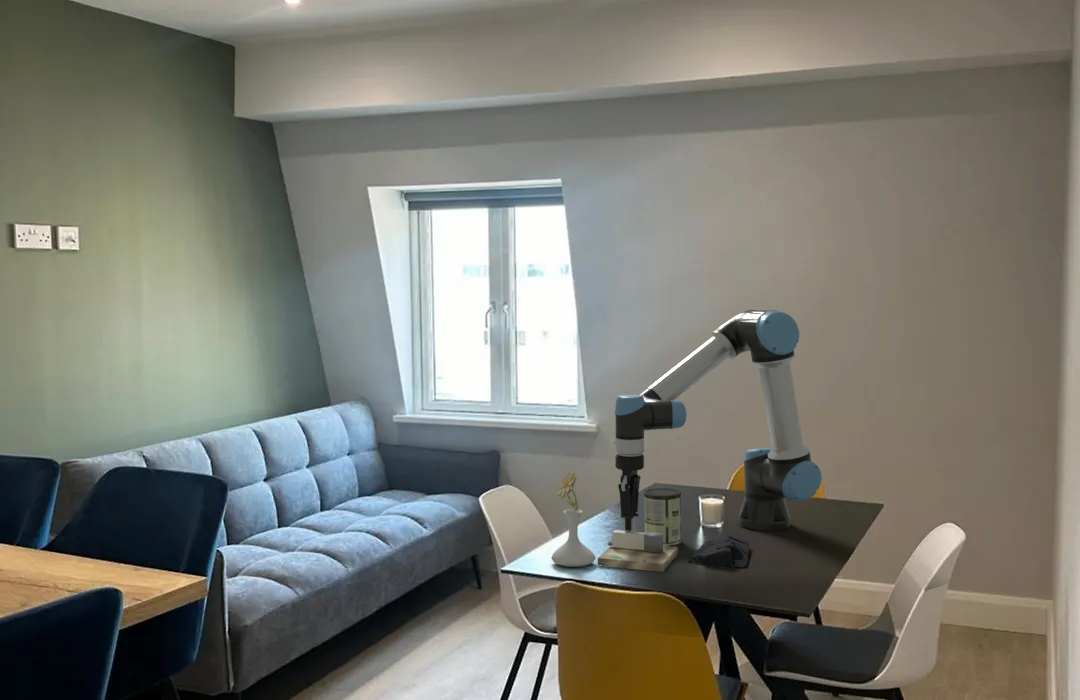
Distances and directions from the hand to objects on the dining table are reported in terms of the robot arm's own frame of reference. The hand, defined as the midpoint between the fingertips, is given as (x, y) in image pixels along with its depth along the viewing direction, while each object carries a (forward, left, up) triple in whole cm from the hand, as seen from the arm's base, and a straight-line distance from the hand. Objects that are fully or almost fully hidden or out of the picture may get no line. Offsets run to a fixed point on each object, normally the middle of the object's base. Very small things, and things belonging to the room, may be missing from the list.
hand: (629, 541), depth 265 cm
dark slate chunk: (-24, -6, -4) cm, 25 cm away
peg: (-2, +2, -1) cm, 3 cm away
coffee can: (-5, -16, -4) cm, 17 cm away
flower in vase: (+11, +14, -4) cm, 18 cm away
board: (-4, +4, -4) cm, 7 cm away
